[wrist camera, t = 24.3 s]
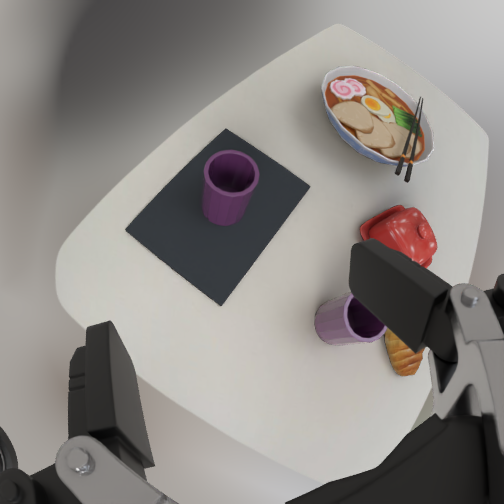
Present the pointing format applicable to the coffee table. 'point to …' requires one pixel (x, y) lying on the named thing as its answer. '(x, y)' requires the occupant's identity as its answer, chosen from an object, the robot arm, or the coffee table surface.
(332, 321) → the plum cup side
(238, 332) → the coffee table surface
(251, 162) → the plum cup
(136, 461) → the robot arm
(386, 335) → the pastry
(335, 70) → the ramen bowl
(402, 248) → the butter dish
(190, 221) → the mat
